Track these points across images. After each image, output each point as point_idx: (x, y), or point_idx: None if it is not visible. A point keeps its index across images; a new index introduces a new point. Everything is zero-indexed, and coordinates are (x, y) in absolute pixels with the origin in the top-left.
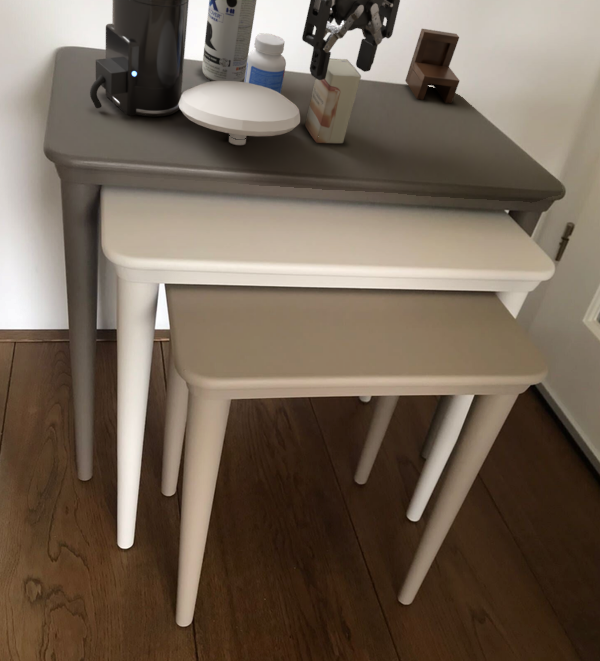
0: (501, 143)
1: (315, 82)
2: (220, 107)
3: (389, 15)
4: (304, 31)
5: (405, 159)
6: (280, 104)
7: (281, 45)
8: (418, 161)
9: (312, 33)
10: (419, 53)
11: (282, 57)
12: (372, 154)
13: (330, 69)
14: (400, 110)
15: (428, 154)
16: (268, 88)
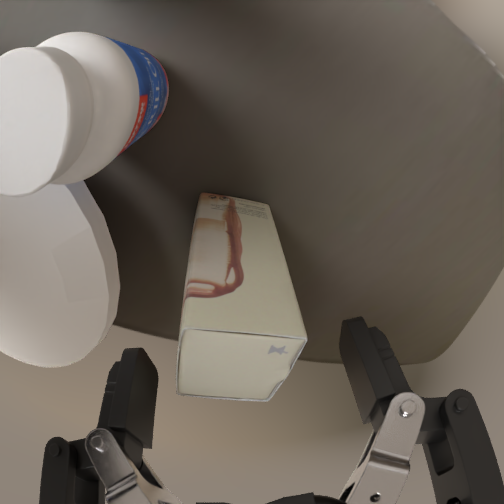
0: (483, 290)
1: (188, 269)
2: None
3: (435, 490)
4: (45, 466)
5: (330, 317)
6: (53, 352)
7: (43, 187)
8: None
9: (75, 469)
10: None
11: (101, 133)
12: None
13: (186, 377)
14: (465, 179)
15: (379, 308)
16: (42, 260)
